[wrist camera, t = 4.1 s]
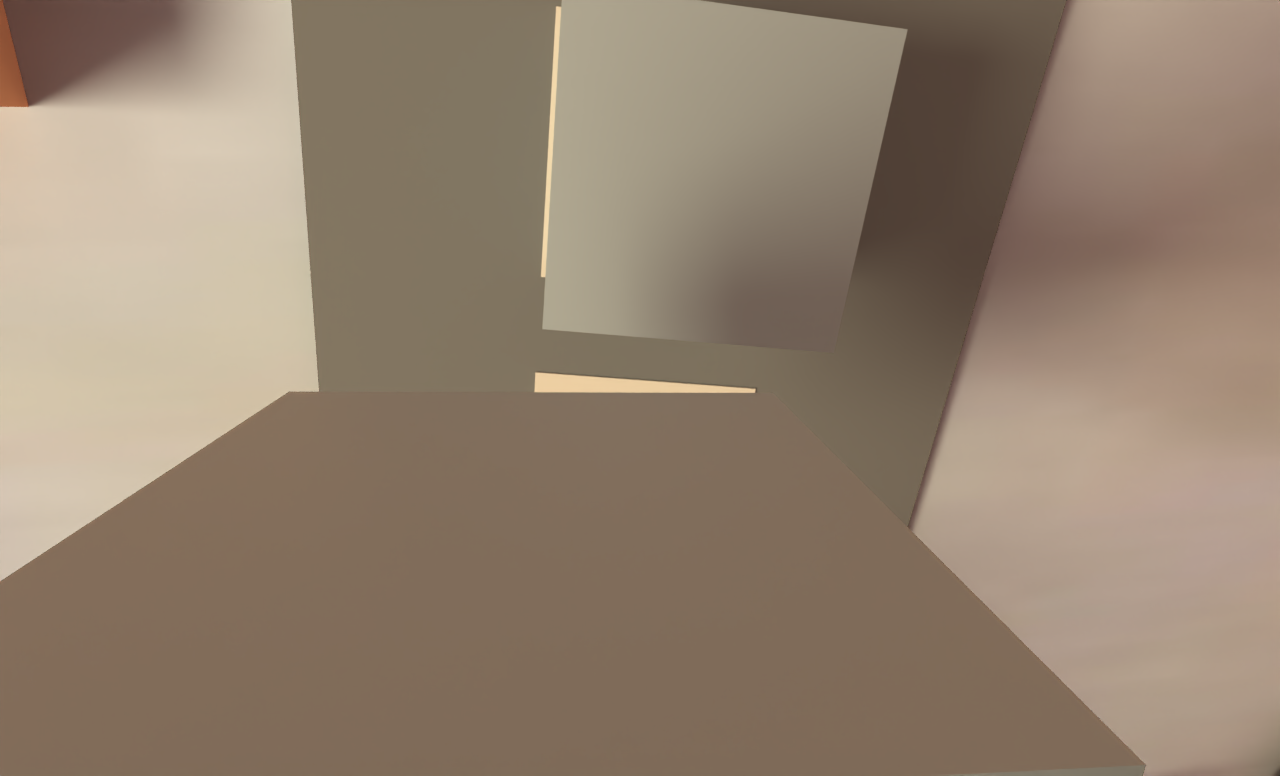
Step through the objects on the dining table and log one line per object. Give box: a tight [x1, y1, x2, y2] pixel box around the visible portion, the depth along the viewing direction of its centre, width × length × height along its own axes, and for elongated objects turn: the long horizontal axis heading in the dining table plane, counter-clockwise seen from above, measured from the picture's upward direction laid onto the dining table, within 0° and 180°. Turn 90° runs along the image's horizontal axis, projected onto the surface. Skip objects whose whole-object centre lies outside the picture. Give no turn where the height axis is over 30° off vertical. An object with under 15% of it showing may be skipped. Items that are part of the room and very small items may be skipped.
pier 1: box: [542, 0, 908, 353], centre depth 13 cm, size 5×5×5 cm
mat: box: [291, 0, 1066, 527], centre depth 17 cm, size 20×16×1 cm
